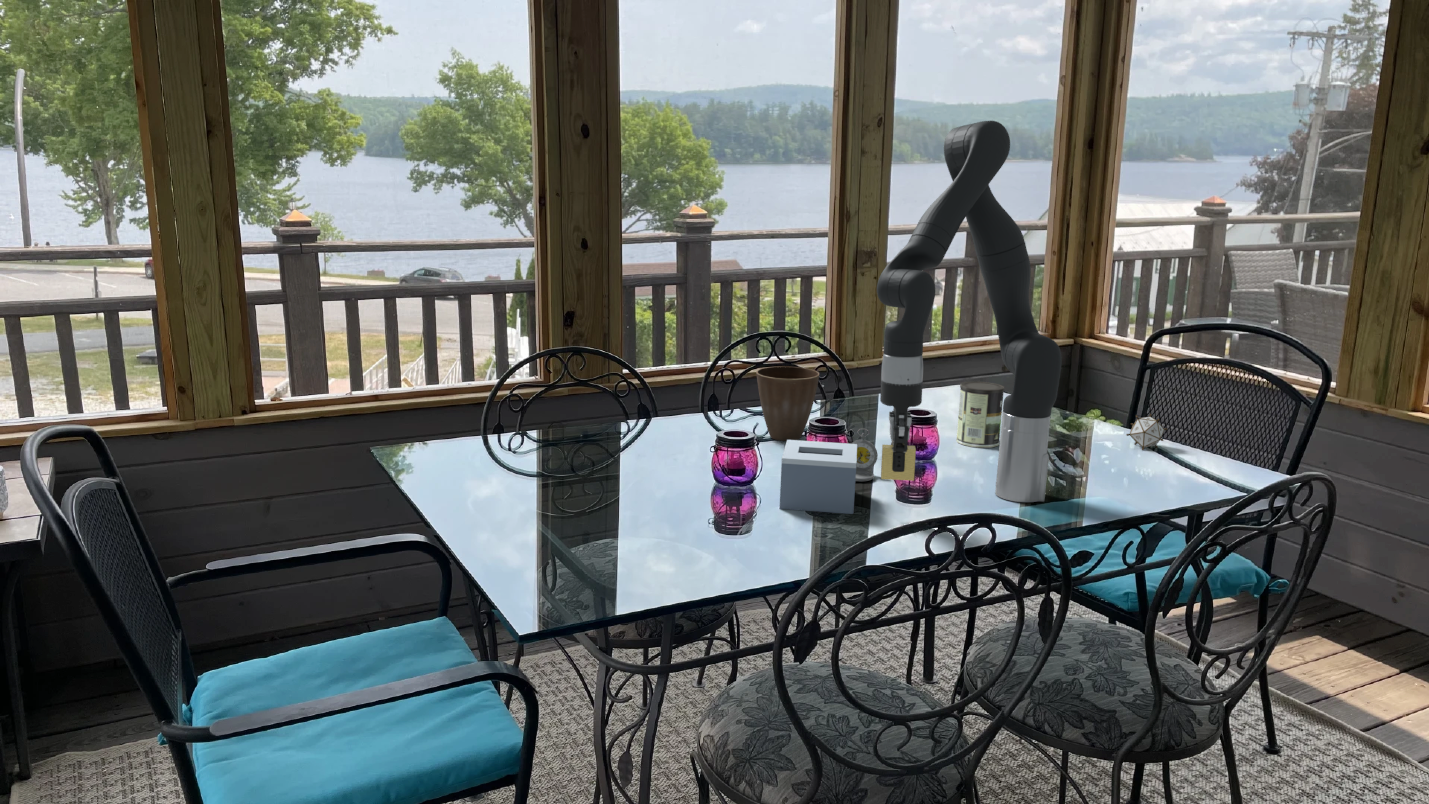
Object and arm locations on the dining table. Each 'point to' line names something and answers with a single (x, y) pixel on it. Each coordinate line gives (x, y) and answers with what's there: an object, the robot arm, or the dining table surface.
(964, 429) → the coffee can
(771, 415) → the plant pot
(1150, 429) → the game die
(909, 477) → the plate
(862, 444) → the pocket watch
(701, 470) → the dining table surface
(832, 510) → the coin box
